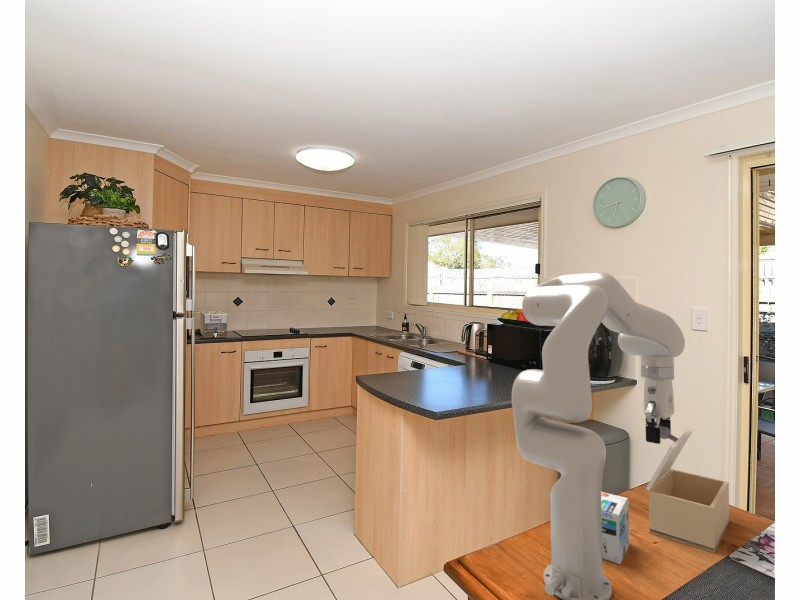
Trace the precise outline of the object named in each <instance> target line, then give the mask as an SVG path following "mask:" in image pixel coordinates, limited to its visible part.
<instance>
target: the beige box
mask: <svg viewBox="0 0 800 600" xmlns="http://www.w3.org/2000/svg"><path fill="white" fill-rule="evenodd" d="M729 483H730V482H729V481H727V480H722V479H718V478H713V477H710V476H703V475H700V474H695V473H691V472H686V471H681V470H677V469H672V468H671V469H670V470H669V471H668V472H667V473H666V474H665V475H664V476H663V477H662V478H661V479H660V480H659V481H658V482H657V483H656V484H655V485H654V486H653V487H652V488H651V489H650V490H649V491H648V515H649V516H648V518H649V520H648V521H649V534H653V535H655V536H659V537H662V538H665V539H669V540H671V541H674V542H678V543H680V544H685V545H687V546H691V547H694V548H696V549H699V550H703V551H706V552H709V553H711V554H716V551H717V549H718V547H719V545H720V543H721V540H722V538H723V537H724V534H725V532H726V529H727V528H728V525H729V523H730V493H729V492H730V488H729V487H730V485H729Z"/></svg>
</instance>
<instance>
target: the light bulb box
mask: <svg viewBox="0 0 800 600" xmlns="http://www.w3.org/2000/svg"><path fill="white" fill-rule="evenodd" d="M629 509H630V508H629V498H628V497H625V496H620V495H615V494H612V493H607V492H604V491H601V513H602V560H606V561H608V562H613V563H615V564H618V565H621V564H622V562H623V560H624V557H625V555H626V553H627V551H628V549H629V546H630V510H629Z"/></svg>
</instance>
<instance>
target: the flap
mask: <svg viewBox="0 0 800 600" xmlns="http://www.w3.org/2000/svg"><path fill="white" fill-rule="evenodd" d="M659 428H660V439H662V440H667V439H670V440H671V441H672V442H673V443H672V444H671V445H670V446H669V448H668V450H667V452H666V453H665V455H664V456H663V459H662V460H661V461H660V464H659V465H658V466H657V468H656V470H655V472H654V474H653V475H652V477H651V479H650V481H649V482H648V484H647V485H646V487H645V490H647V491H648V492H649V491H650V490H651V489H652V488H653V487H654V486H655V485H656V484H657V483H658V481H659V480H660V479H661V478H662V477H663V476H664V475H665V474H666V473H667V472H668V471H669V470H670V469H672V467H673V465H674V463H675V462H676V461H677V458H678V456H679V455H680V454H681V452H682V450H683V448H684V447H685V445H686V443H687V442H688V440H689V438H690V436H691V435H692V433H693V431H694V429H692V428H691V427H690V428H689V429H687V431H685V432H684V433H683V434H682V435H681V436H680V437H677V436H675V435H673V434H672V431H671V432H670V430H669V429H668V428H667V427H664V426H661V427H659Z"/></svg>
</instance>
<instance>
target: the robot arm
mask: <svg viewBox="0 0 800 600" xmlns="http://www.w3.org/2000/svg"><path fill="white" fill-rule="evenodd" d="M521 308H522V313H523V316H524V317H525V319H526V320H527V321H528V322H529V323H531V324H533V325H535V326H541V327H542V326H544V327H545V326H547V327H554V328H553V329H552V330H551V332H550V333H549V335H547V338H546V339H545V341H544V343H543V344H542V350H541V360H542V369H537V368H536V369H533V368H532V369H526V370H523V371H521V372H520V373H518V375H516V378H515V380H514V381H513V384H512V388H511V407H512V408H511V409H512V414H513V415H512V417H513V422H514V423H513V424H514V431H515V437H516V438H515V439H516V444H517V445H516V446H517V449H518V452H519V454H520V455H521V457H522V458H523V459H524V460H526V461H528V462H529V463H533V464H535V465H538V466H542V467H545V468H547V469H551V470H554V471H556V472H559V473H560V477H559V479H558V480H557V481H556V482H555V483H554V485H553V486H552V488H551V490H550V494H549V495H550V496H549V497H550V498H549V504H550V505H549V507H550V509H549V510H550V513H549V514H550V554H551V555H550V559H551V563H550V564H548V565H547V567H546V568H545V569H544V570H543V583H544V584H545V585H544V591H545V592H546V594H548V595H549V596H554V595H555V596H556V597H558V598H560V599H561V600H610V599H611V598H612V595H613V591H612V590H613V587H612V586H613V585H612V583H611V582H610V580H609V578H608V577H607V576H606V575H605V574H604V573H603V570H604V569H603V558H602V513H601V492H602V487H603V486H602V485H603V475H604V468H605V464H606V460H607V459H606V457H607V448H606V443H605V441H604V439H603V438H602V437H601V436H600V435H599V434H598V433H596V431H594V430H592V429H589V428H586V427H583V426H579V425H576V424H575V423H583V422H585V421H586V420H588V419H589V418H590V417H591V414H592V410H593V395H592V387H591V386H592V385H591V378H590V377H591V375H590V367H589V366H590V365H589V349H590V345H591V342H592V340H593V338H594V335H595V333H596V331H597V329H598V328H599V326H600V325H601V324H603V326H605V328H607V329H608V330H609V331H612V332H615V333H617V334H618V336H617V345H618V347H619V349H620V350H621V351H622V352H623V353H624V354H627V355H632V356H640V378H641V379H644V383H643V384H644V386H643V411H644V416H645V419H644V420H645V424H644V426H645V441H646V442H647V443H653V444H658V445H659V444H661V438H660V428H659V427H661V426H664V427H667V428H668V429H669V430H670V432H671V433H672V428H671V421H672V420H671V416H673V415H674V414H675V399H674V388H673V380H675V360H674V359H675V358H678V357H679V356H681V354H682V353H683V352H684V350H685V347H686V346H685V345H686V340H685V336H684V334H683V331H682V329H681V328H680V326H679V325H678V323H677V322H676V321H675V320H674V319H673V318H672V317H670V316H669V315H668V314H666V313H665V312H662V311H661V310H660V311H659V310H657V309H654V308H652V307H650V306H647V305H645V304H641V303H638V302H636V300H634V299H633V296H631V295H630V294H629V292H627V290H626V289H625V288H624V286H623V285H622V284H621V283H620V281H619V280H617V278H615V277H614V276H613V275H612V274H610V273H608V272H602V271H601V272H600V271H599V272H597V271H596V272H580V273H568V274H563V275H560V276H557V277H554V278H551V279H550V280H546V281H545V282H542V283H538V284H537V285H534V286H532V287H531V288H530V289H529V290H527V292H525V295H524V296H523V299H522V306H521ZM550 419H551V420H550ZM554 420H556V421H554ZM565 422H566V423H565ZM570 423H573V424H570Z"/></svg>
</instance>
